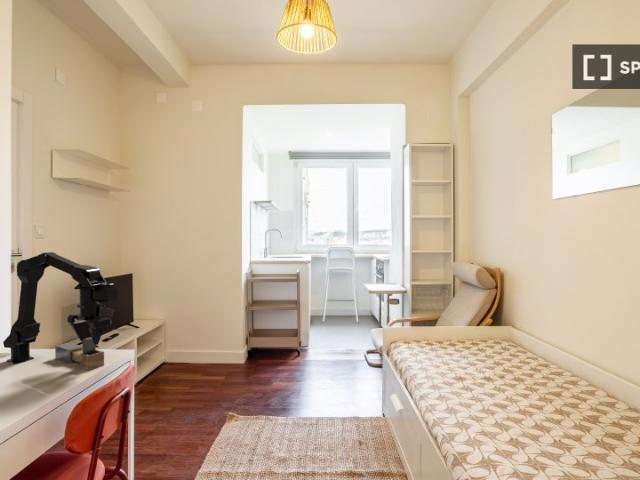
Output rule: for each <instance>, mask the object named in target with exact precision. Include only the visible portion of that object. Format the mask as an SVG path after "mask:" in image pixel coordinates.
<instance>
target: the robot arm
mask: <svg viewBox="0 0 640 480" xmlns="http://www.w3.org/2000/svg"><path fill="white" fill-rule="evenodd" d="M49 267H53V268H54V269H57V270H59V271H62V272H64V273H66V274H68V275H69V276H71V278H72V280H74V281H75V282H76V283H78V284H77V285H75V286H74V287H73V289H74V290H79V303H78V304H76V307H77V309H78V308H79V312H76V313H71V314H69V315H68V316H67V323H69V325H70V327H71V328H72V330H73V331H74V332H75V333H76V336H77V337H78V339H79V341H80V342H83V339H85V338H86V331H87V326H89V327H88V330H89V331H88V332H89V334H90V337H92V339H93V342H94V344H95V345H96V346H97V345H99V344H100V343H99V342H100V340H101V337H102V334H103V332H104V330H105V329H106V328H108V327H109V326H111V325H112V319H111V318H112V317H113V314H114V312H115V309H114V308H109V307H106V306H105V304H102V303H114V302H116V301H117V300H118V298H119V290H118V288H117V287H115V284H114V283H108V282H107V281H106V278H104V276H103V274H102V273H101V269H100V268H98V267H96V266H92V265H86V264H79V263H77V262H75V261H73V260H71V259H68V258H66V257H63V256H61V255H58V254H57V253H56V252H54V251H51V252H50V251H49V252H48V251H47V252H42V253H39V254H38V255H36V256H32V257H30V258H26V259H22V260H20V261H19V262H17V264H16V276H17V277H18V279H19V280H20V283H21V284H20V291H19V293H20V295H19V302H18V314H17V319H16V320H15V322H14V323H13V324H12V325H11V328H10V333H9V334H8V336H7V337H6V338H5V339H4V340H3V341H2V344H3V347H4V348H6V349H10V359H9V358H8V359H6V362H8V363H10V364H13V365H16V364H20V363H24V362H27V361H31V360H34V359H35V357H33V356H31V354H30V353H31V348H30V344H31V343H35V342H36V341H37V337H38V336H39V333H41V331H40V326H41V322H37V321H36V319H35V312H36V304H37V294H38V293H37V292H38V283H39V282H40V280H41V279H42V277H44V274H45V270H46V269H47V268H49ZM100 302H101V303H100Z"/></svg>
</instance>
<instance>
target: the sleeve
mask: <svg viewBox="0 0 640 480" xmlns="http://www.w3.org/2000/svg"><path fill="white" fill-rule="evenodd" d="M54 346H55V356H54V357H55V359H57V360H60V361H62V362H65V363H68V364H70V363H74V362H75V361H74V360H71V351H73V350H77V349H81V350H83V345H79V344H77V343H72V342H65V343H61V344H58V345H54Z"/></svg>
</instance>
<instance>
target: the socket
mask: <svg viewBox="0 0 640 480" xmlns="http://www.w3.org/2000/svg"><path fill="white" fill-rule="evenodd" d="M102 366H105V352H104V351H102V350H99V349H96V354H92V355H87V354H83V353H80V362H79V367H80V368H83V369H86V370H88V371H89V370H90V371H91V370H93V369H97V368H99V367H102Z"/></svg>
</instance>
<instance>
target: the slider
mask: <svg viewBox="0 0 640 480" xmlns="http://www.w3.org/2000/svg"><path fill="white" fill-rule="evenodd" d="M82 346H83V350H81V349H77V350H73V351H71V360H74V362H78V363H80V353H83V354H87V355H92V354H96V350H97V349H96V346H97V345H95V344H94V342H93V339H92V336H89V337H85V339H83V341H82Z"/></svg>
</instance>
